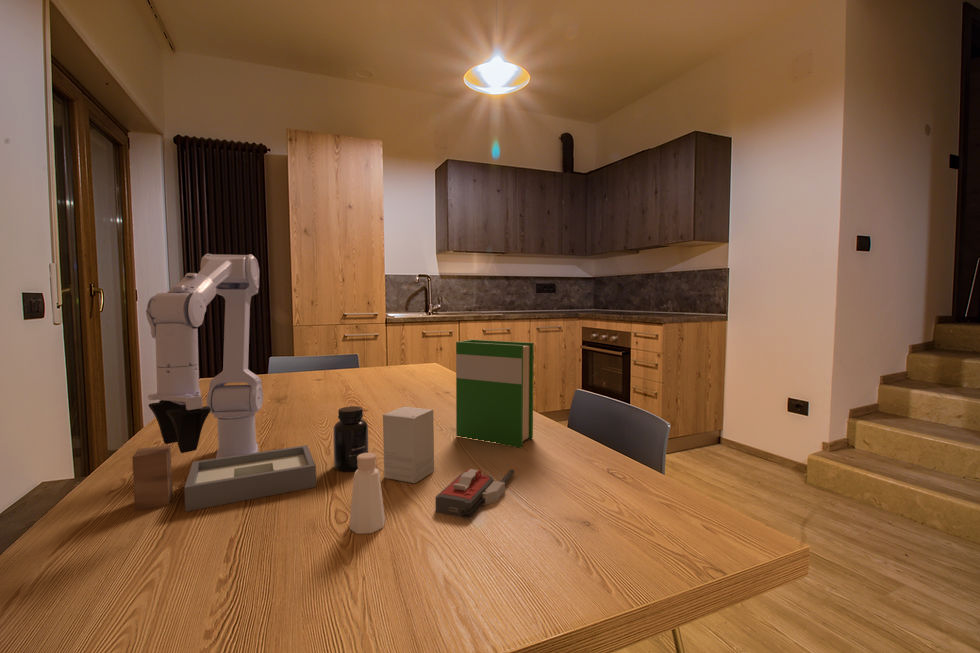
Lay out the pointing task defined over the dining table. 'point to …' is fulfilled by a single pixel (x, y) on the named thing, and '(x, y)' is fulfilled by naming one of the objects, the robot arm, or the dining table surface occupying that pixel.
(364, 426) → the supplement bottle
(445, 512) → the walkie-talkie
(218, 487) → the open box
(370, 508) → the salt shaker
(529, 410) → the hardback book
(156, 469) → the wooden peg
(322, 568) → the dining table surface
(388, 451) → the supplement box
